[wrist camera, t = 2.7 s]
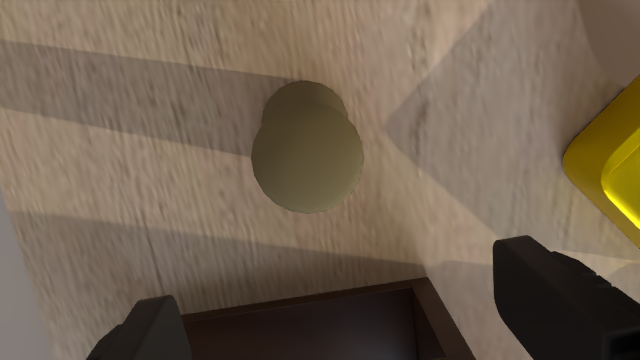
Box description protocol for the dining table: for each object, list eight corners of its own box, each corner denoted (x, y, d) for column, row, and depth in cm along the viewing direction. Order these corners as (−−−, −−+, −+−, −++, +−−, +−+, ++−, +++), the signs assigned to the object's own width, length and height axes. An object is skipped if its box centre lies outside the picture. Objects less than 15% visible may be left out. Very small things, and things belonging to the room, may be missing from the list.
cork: (346, 168, 28) (374, 233, 18) (262, 167, 28) (239, 232, 18) (351, 81, 27) (383, 96, 16) (260, 79, 26) (233, 93, 16)
